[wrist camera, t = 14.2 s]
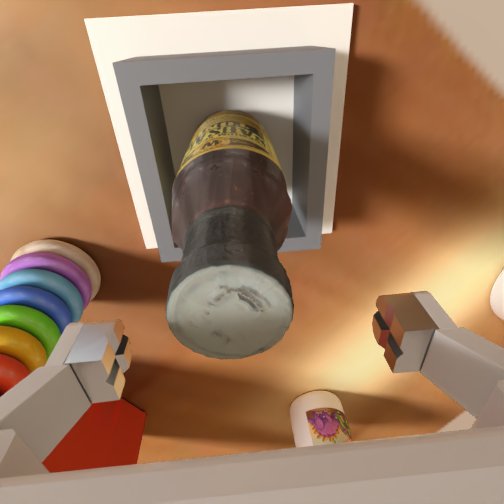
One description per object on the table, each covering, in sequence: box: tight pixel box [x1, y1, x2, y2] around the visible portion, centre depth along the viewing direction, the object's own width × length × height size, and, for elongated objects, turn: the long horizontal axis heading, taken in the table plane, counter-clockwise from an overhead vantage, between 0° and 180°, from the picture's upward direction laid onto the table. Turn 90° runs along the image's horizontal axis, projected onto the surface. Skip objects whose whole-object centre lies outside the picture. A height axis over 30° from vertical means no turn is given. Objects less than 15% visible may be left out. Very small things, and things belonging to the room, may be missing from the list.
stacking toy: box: [0, 239, 101, 397], centre depth 25 cm, size 8×8×19 cm
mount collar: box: [84, 3, 354, 262], centre depth 25 cm, size 18×18×7 cm
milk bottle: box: [290, 391, 353, 447], centre depth 41 cm, size 8×8×20 cm
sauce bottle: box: [166, 110, 294, 359], centre depth 19 cm, size 7×6×20 cm
